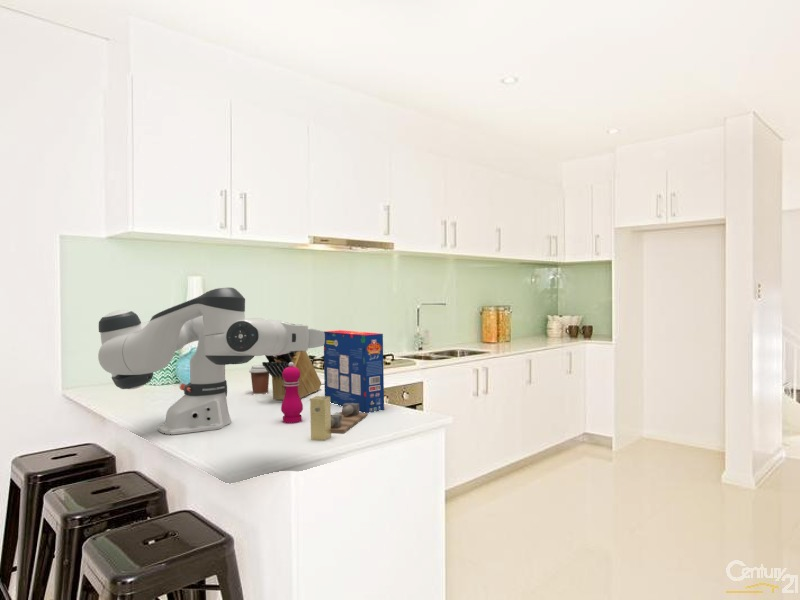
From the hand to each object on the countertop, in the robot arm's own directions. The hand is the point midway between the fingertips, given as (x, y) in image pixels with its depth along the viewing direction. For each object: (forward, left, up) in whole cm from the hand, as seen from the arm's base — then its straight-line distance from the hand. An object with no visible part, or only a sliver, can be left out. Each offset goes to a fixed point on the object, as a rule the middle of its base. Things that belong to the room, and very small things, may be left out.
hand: (298, 339), depth 149 cm
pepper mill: (+13, +32, -31) cm, 46 cm away
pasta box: (+42, +39, -31) cm, 65 cm away
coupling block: (+10, +7, -31) cm, 33 cm away
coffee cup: (+26, +88, -31) cm, 97 cm away
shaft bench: (+24, +18, -31) cm, 43 cm away
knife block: (+33, +70, -31) cm, 84 cm away
